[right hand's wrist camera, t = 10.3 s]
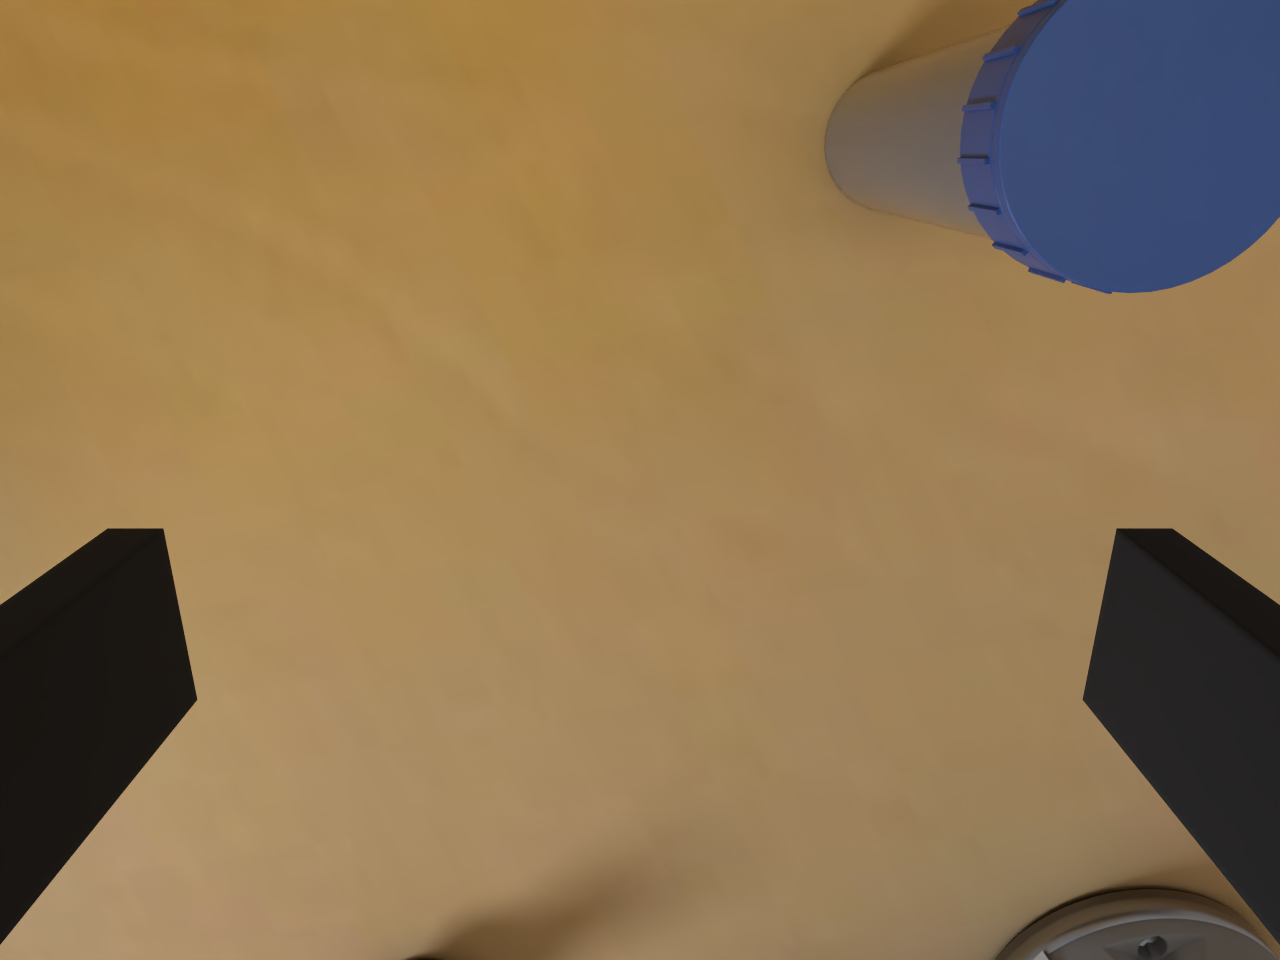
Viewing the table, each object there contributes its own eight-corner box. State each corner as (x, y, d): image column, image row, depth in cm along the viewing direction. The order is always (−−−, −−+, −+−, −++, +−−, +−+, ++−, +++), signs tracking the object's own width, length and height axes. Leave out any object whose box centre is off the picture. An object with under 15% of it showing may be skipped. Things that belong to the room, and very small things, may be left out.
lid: (1018, 333, 19) (1062, 354, 17) (907, 71, 17) (941, 60, 15) (1291, 190, 18) (1371, 195, 16) (1201, -103, 16) (1278, -138, 14)
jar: (859, 235, 34) (1067, 316, 17) (801, 113, 32) (969, 73, 16) (981, 167, 33) (1322, 183, 16) (927, 38, 31) (1242, -86, 15)
